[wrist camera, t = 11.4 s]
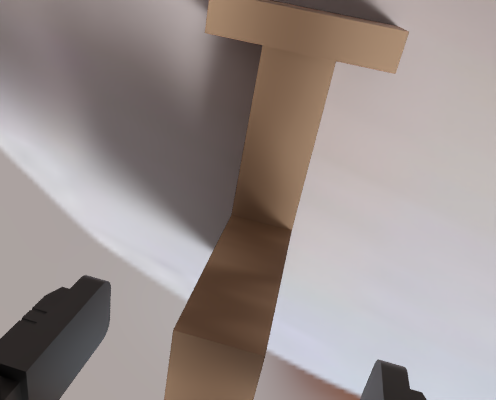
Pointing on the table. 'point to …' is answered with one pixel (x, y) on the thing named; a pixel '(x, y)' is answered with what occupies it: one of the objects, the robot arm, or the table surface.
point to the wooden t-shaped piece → (265, 186)
